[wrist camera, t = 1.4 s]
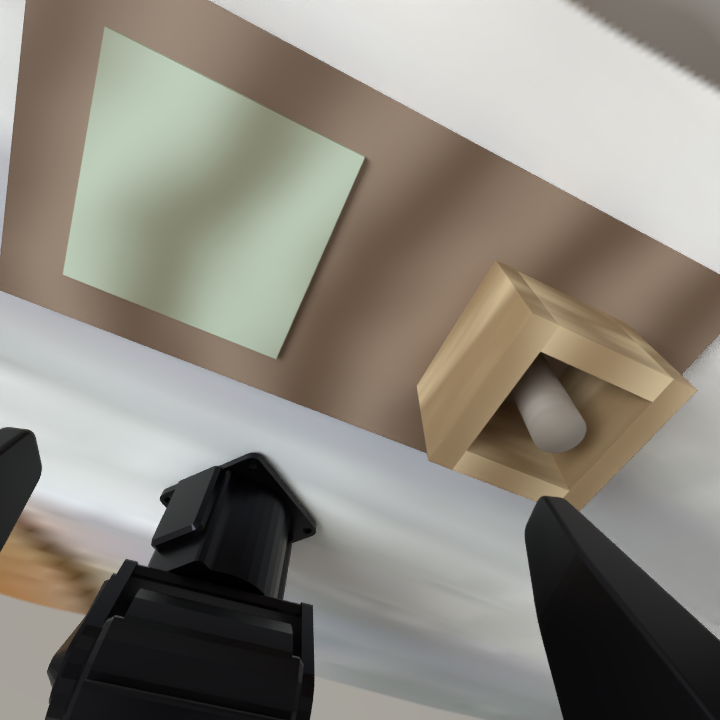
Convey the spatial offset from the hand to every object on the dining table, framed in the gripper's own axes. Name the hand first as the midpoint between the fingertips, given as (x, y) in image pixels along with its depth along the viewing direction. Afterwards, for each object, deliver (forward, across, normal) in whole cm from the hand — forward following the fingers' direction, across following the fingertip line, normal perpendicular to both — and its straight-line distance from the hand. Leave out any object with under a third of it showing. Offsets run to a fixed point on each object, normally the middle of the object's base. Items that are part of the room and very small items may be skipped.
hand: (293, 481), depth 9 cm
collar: (+12, -8, +3) cm, 15 cm away
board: (+13, -2, +1) cm, 14 cm away
